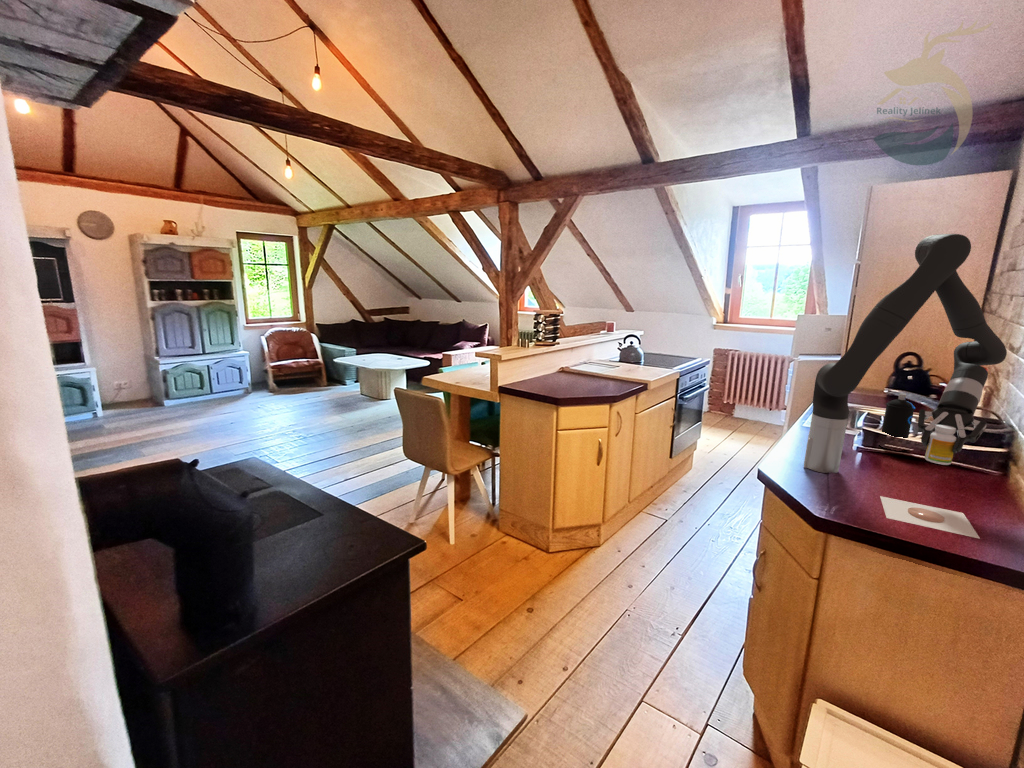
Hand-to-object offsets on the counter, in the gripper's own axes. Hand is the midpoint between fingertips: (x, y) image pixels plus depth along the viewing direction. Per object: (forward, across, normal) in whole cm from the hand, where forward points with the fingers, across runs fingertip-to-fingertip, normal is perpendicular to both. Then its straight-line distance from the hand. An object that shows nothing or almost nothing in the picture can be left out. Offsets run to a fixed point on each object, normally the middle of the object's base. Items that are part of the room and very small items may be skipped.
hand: (939, 447), depth 125 cm
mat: (+20, +2, +2) cm, 20 cm away
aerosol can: (-23, -19, +45) cm, 54 cm away
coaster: (+19, +2, +2) cm, 19 cm away
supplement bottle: (+2, 0, +4) cm, 5 cm away
